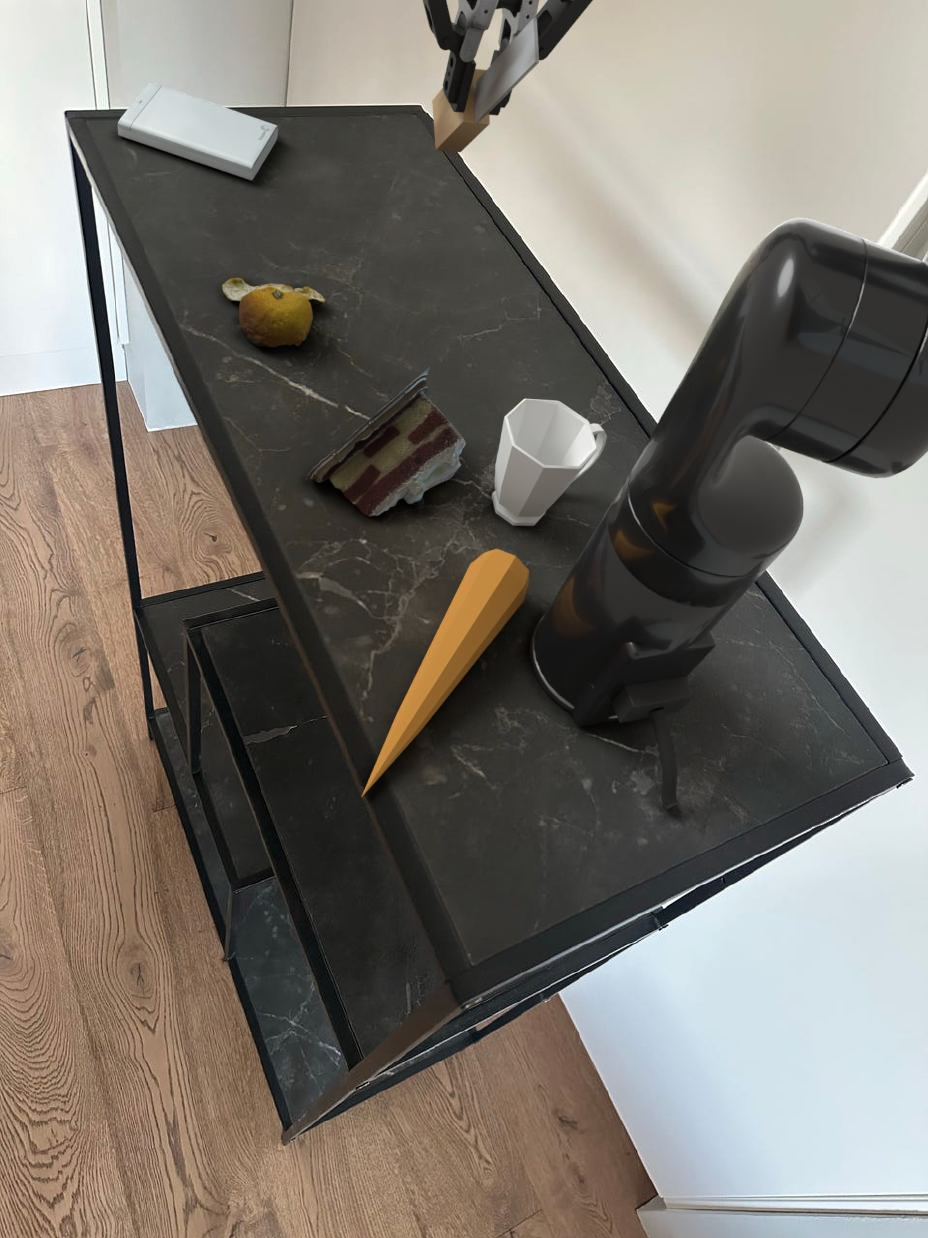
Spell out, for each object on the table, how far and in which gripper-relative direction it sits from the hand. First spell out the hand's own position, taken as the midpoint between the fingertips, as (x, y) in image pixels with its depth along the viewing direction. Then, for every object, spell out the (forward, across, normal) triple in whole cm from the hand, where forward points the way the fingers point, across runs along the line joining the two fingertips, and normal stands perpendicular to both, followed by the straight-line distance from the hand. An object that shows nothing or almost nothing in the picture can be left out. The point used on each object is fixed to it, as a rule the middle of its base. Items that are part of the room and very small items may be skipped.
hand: (472, 106), depth 67 cm
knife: (-1, 0, +3) cm, 3 cm away
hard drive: (+16, +11, -18) cm, 27 cm away
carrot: (+13, +12, +38) cm, 42 cm away
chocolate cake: (+17, +9, +21) cm, 28 cm away
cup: (+17, -2, +24) cm, 30 cm away
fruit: (+17, +14, +3) cm, 22 cm away
